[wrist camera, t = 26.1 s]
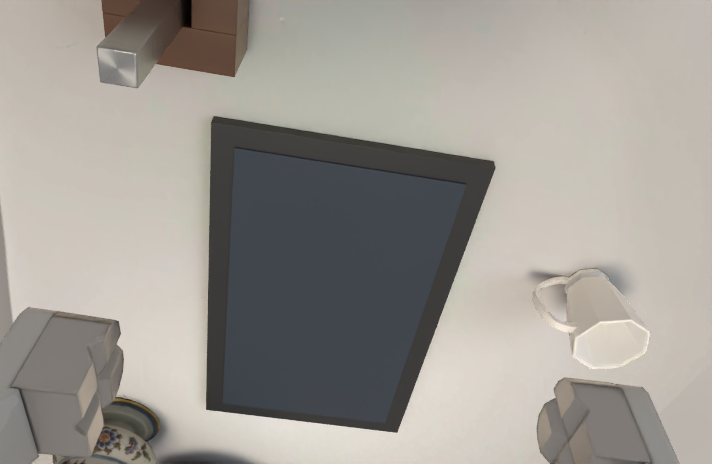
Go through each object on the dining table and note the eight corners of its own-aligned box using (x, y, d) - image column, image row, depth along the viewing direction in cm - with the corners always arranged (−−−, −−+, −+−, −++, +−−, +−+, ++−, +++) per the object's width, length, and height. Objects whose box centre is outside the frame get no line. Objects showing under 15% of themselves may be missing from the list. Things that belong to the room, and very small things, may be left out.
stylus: (174, -34, 42) (96, 46, 30) (202, -28, 42) (135, 53, 30) (175, -5, 43) (99, 82, 31) (202, 0, 43) (138, 88, 32)
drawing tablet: (213, 116, 49) (210, 123, 48) (493, 161, 51) (496, 168, 50) (207, 402, 74) (205, 411, 73) (397, 425, 76) (397, 434, 75)
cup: (599, 314, 62) (625, 376, 56) (511, 295, 61) (527, 356, 55) (636, 266, 58) (668, 328, 52) (542, 244, 57) (563, 305, 50)
